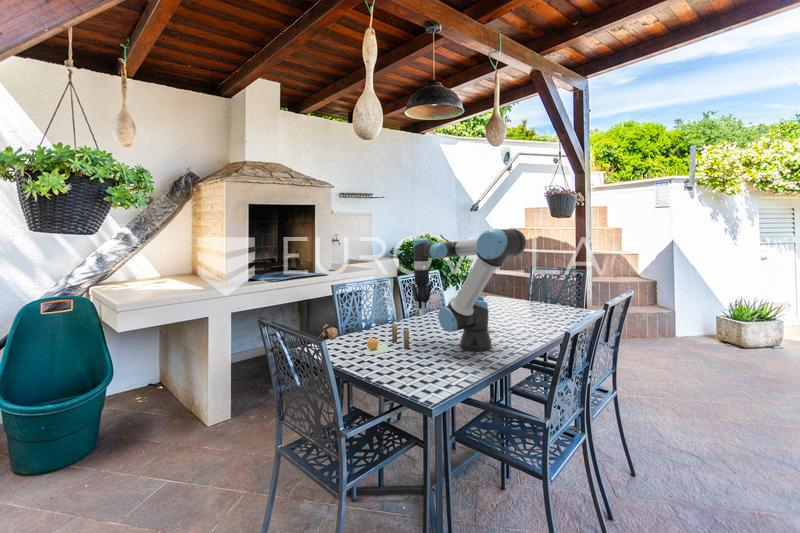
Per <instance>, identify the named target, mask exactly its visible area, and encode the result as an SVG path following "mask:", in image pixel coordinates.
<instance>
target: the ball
mask: <svg viewBox="0 0 800 533" xmlns="http://www.w3.org/2000/svg"><path fill="white" fill-rule="evenodd" d="M378 344H379V341H378V339H377V338H374V337H371V338H369V339H368V340H367V342H366V346H368V348H369V349H371V350H374V349H376V348H377V347H378Z"/></svg>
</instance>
